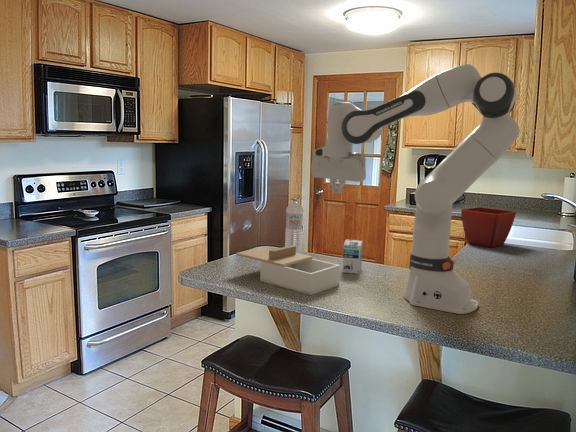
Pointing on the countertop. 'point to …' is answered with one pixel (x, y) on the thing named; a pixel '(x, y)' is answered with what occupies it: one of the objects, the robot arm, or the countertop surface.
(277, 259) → the tan box lid
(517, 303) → the countertop surface
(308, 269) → the base
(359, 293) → the countertop surface
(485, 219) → the plant pot
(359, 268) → the light bulb box
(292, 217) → the water bottle
